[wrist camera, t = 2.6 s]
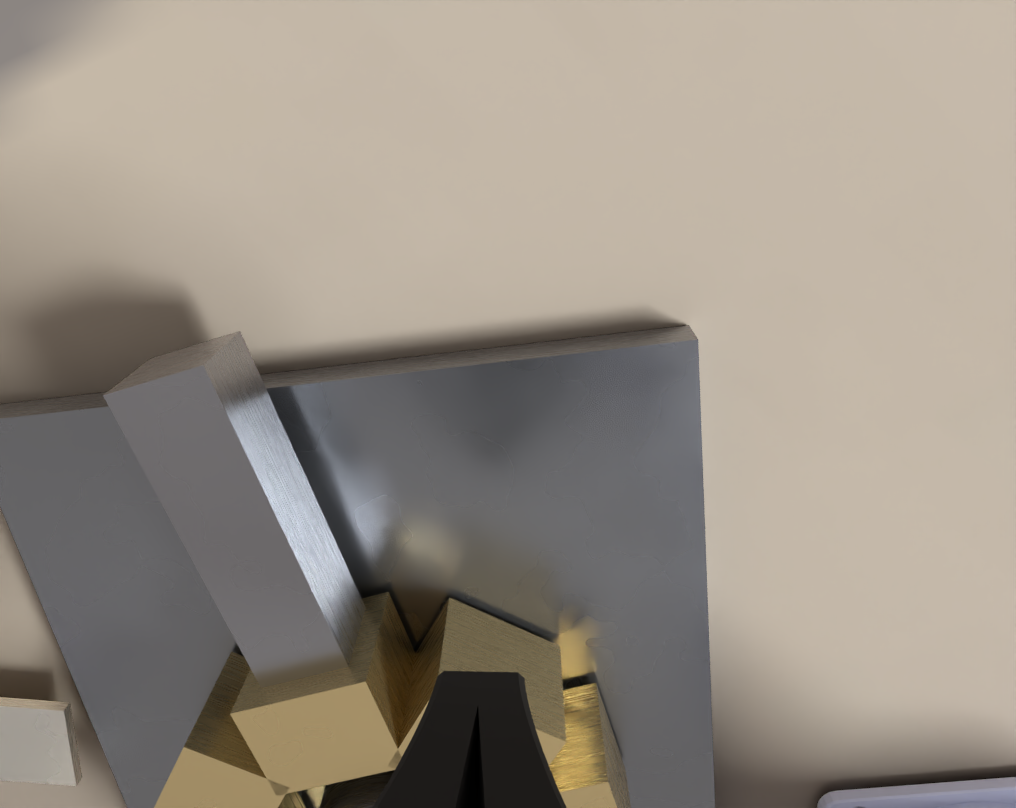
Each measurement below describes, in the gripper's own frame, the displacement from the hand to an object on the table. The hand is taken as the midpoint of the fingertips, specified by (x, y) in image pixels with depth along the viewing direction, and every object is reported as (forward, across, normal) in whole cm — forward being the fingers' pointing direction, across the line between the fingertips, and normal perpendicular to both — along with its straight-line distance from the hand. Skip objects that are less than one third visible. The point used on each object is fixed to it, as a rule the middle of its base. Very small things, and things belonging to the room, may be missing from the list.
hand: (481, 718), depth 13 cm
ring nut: (+6, +3, +4) cm, 7 cm away
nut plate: (+7, +5, +8) cm, 11 cm away
